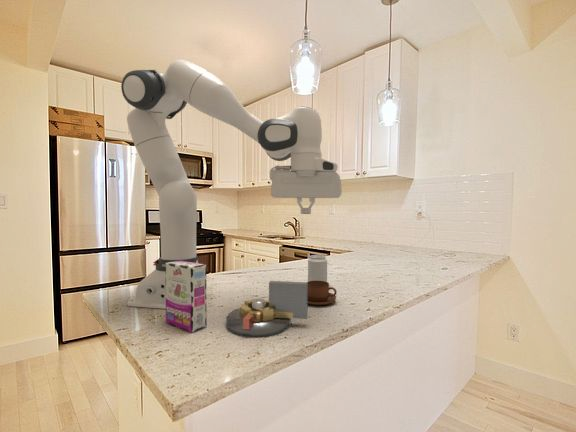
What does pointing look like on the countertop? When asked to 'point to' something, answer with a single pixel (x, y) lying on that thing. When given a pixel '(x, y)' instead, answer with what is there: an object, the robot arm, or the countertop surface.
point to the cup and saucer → (320, 293)
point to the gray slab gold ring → (281, 302)
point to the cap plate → (255, 323)
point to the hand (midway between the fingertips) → (305, 213)
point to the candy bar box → (186, 295)
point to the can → (317, 268)
